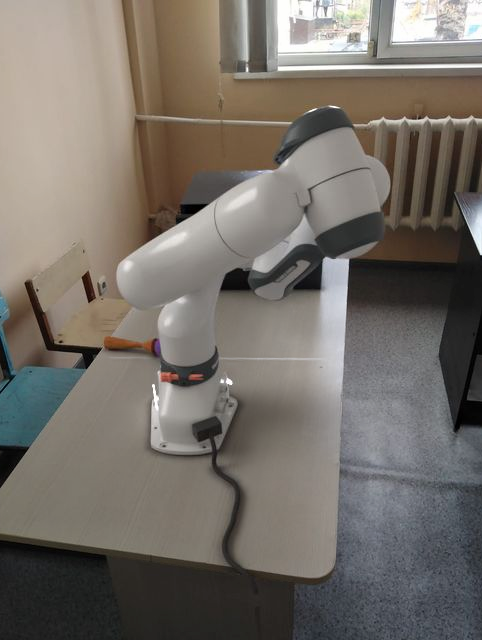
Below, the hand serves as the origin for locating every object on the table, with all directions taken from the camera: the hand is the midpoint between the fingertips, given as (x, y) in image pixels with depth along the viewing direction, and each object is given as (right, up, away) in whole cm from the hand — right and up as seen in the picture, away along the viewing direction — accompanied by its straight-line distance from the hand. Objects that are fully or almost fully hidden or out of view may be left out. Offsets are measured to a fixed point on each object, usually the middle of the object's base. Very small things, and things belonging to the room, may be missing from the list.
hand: (249, 267), depth 142 cm
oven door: (+2, -5, +19) cm, 19 cm away
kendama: (-27, -23, -5) cm, 36 cm away
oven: (+4, +6, +35) cm, 36 cm away
